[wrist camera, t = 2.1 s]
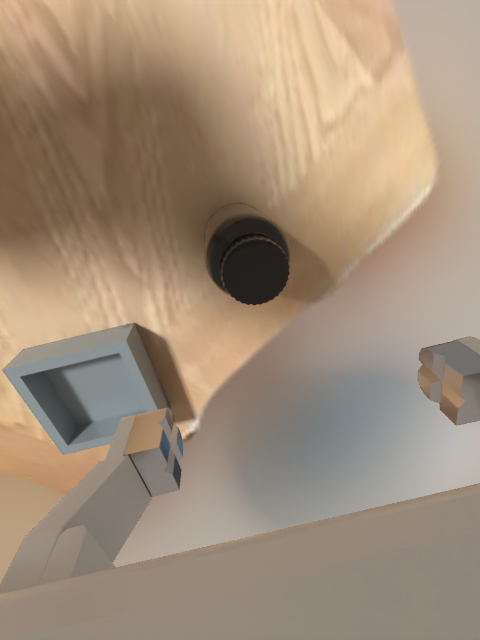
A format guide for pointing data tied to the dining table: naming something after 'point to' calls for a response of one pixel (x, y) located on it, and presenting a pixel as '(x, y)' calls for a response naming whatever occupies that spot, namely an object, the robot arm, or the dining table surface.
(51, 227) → the dining table surface
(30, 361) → the tray
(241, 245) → the supplement bottle
